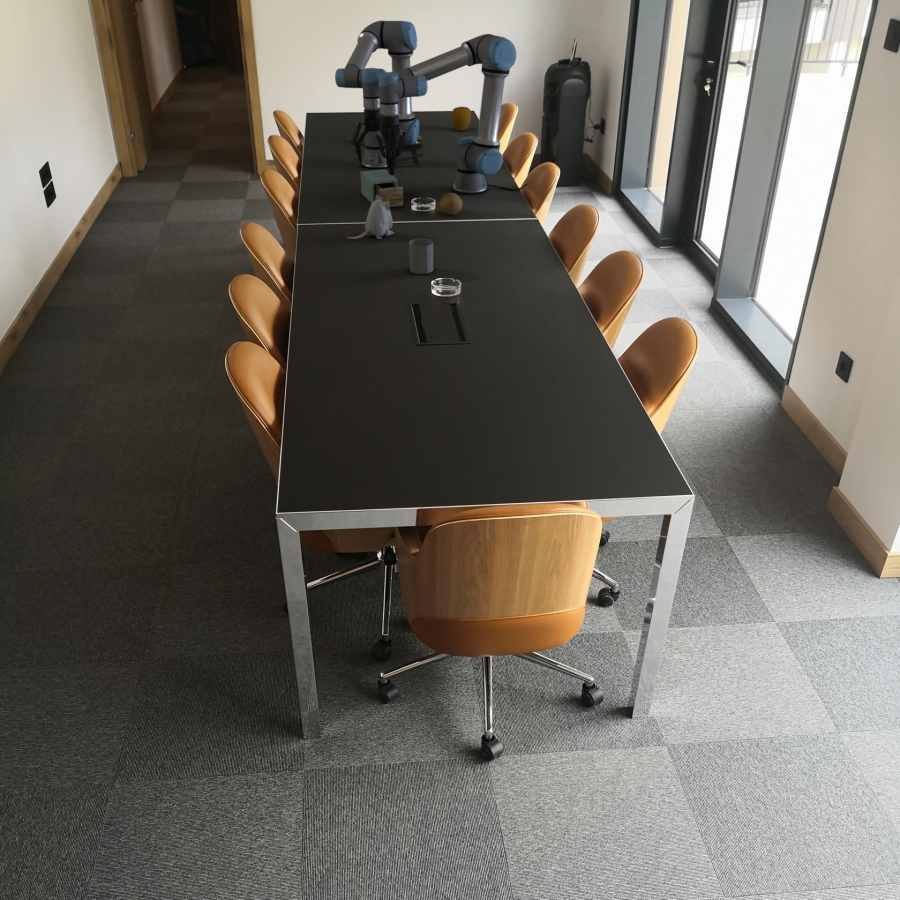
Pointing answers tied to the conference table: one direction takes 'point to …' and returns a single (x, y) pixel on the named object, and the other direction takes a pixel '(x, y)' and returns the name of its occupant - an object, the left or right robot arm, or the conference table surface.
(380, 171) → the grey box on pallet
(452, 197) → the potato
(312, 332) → the conference table surface
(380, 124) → the left robot arm
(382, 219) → the toy
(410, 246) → the cup
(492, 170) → the right robot arm
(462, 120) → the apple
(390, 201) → the drawer
